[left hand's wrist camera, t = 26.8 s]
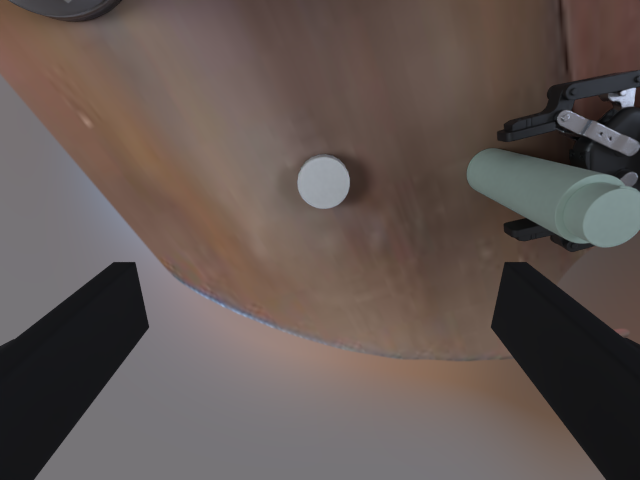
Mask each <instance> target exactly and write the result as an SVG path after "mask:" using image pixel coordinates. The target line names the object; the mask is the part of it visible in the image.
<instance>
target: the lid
mask: <svg viewBox="0 0 640 480" xmlns="http://www.w3.org/2000/svg"><path fill="white" fill-rule="evenodd" d="M348 173H349V172H348V170H347V169H346V167H345V165H344V163H342V162H341V161H340V159H339V158H338V159H337V158H336V157H334V156H333V155H332V156H331V155H327V154H321V155H319V154H318V155H316V156H314V157H311V158H310V159H309V160H306V162H305V163H304V165H303V166H301V170H300V172H299V174H298V181H297V183H298V190H299V193H300V195H301V197H302V198H303V199H304V200H305V201H306V202H307V203H308V204H309V205H311V206H313V207H316V208H320V209H328V208H332V207H334V206H336V205H338V204H339V203H341V202H342V201H343V200H344V199H345V197H346V196H347V194H348V191H349V187H350V177H349V175H348Z"/></svg>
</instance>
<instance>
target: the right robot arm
mask: <svg viewBox="0 0 640 480" xmlns="http://www.w3.org/2000/svg"><path fill="white" fill-rule="evenodd" d="M637 87H640V70H637V71H629V72H620V73H613V74H608V75H603V76H598V77H593V78H588V79H583V80H578V81H573V82H568V83H563V84H558V85H554V86H552V87H550V88H549V90H548V92H547V97H548V99H549V100H548V104H547V106H546V108H545V109H544V110H543V111H542V112H540V113H536V114H533V115H529V116H525V117H521V118H517V119H513V120H510V121H508V122H507V123H505V124H504V130H500V131H498V132H497V138H498V140H499V141H504V142H510V141H515V140H519V139H523V138H527V137H531V136H535V135H539V134H543V133H547V132H551V131H555V130H556V131H558V133H559V134H561V135H563V136H565V137H567V138H570V139H572V140H574V141H576V143H575V144H574V147H573V149H570V150H569V158H570V162H571V165H572V166H574V167H578V168H582V169H586V170H591V171H595V172H599V173H603V174H608V175H611V176H614V177H616V178H618V179H619V180H621V181H622V182H623V183H624V185H625V186H629V187H632V188H635V189H637V190H638V191H639V192H640V108H637V107H634V100H635V92H636V88H637ZM596 95H598V96H599V97H600V99H601V100H602V101H605V102H611V103H612V104H613V108H612V109H610V110H609V111H608V112H606V113H605V114H604V115H603V116H602V117H601V118H600V119H599V120H598V121H597V122H596V121H593V120H589V119H586V118H584V117H582V116H580V115H578V114H576V113H574V112H572V111H571V110H572V107H573V104H574V101H575V100H576V99H581V98H586V97H591V96H596ZM504 232H505V233H507V234H508V235H510V236H511V237H514V238H516V239H517V240H519V241H528V240H531V239H535V238H536V239H537V238H541V237H546V236H550V235H551V237H550V238H551V241H553V242H554V243H556V244H559V245H560V246H562V247H564V248H565V249H566V250H568V251H570V252H574V251H578V250H582V249H585V248H589V247H593V246H595V245H593V244H591V243H574V242H570V241H568V240H566V239H564V238H562V237H561V236H559V235H557V234H555V233H553V232H551V231H550V230H548V229H546V228H544V227H542V226H540V225H539V224H537V223H535V222H533V221H531V220H529V219H527V218H524V219H520V220H516V221H511V222H507V223H504Z"/></svg>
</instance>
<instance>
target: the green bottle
mask: <svg viewBox="0 0 640 480" xmlns="http://www.w3.org/2000/svg"><path fill="white" fill-rule="evenodd" d="M467 180H468V183H469V184H470V186H471V187H472V188H473V189H474V190H476V191H478V192H480V193H481V194H483V195H485V196H487V197H489V198H491V199H492V200H494V201H496V202H498V203H500V204H502V205H504V206H505V207H507V208H509V209H511V210H513V211H515V212H516V213H518V214H520V215H522V216H524V217H526V218H527V219H529V220H531V221H533V222H535V223H537V224H539V225H540V226H542V227H544V228H546V229H548V230H550V231H551V232H553V233H555V234H557V235H559V236H561V237H562V238H564V239H566V240H568V241H570V242H574V243H591V244H593V245H595V246H598V247H613V246H617V245H620V244H622V243H624V242H626V241H628V240H629V239H631V238H632V237H633V236H634V235H635V234H636V233H637V232H638V231H639V230H640V192H639V191H638V190H637V189H635V188H632V187H629V186H625V185H624V183H623V182H622V181H621V180H619V179H618V178H616V177H614V176H611V175H608V174H603V173H599V172H595V171H591V170H586V169H582V168H578V167H574V166H570V165H565V164H561V163H557V162H553V161H548V160H544V159H540V158H536V157H531V156H527V155H523V154H519V153H515V152H510V151H506V150H502V149H498V148H489V149H485V150H483V151H481V152H479V153H478V154H476V155H475V156H474V157H473V159H472V160H471V161H470V163H469V165H468V168H467Z"/></svg>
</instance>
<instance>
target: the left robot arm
mask: <svg viewBox="0 0 640 480" xmlns="http://www.w3.org/2000/svg"><path fill="white" fill-rule="evenodd" d="M9 1H10V2H12V3H14V4H16V5H17V6H19V7H21V8H24V9H26V10H28V11H31V12H34V13H37V14H40V15H43V16H46V17H49V18H53V19H57V20H62V21H85V20H89V19H93V18H96V17H99V16H101V15H103V14H105V13H107V12H109V11H110V10H111V9H113V8H114V7H115V6H117V5H118V4H119V3H120V2H121V1H122V0H9ZM148 328H149V324H148V320H147V315H146V311H145V306H144V301H143V296H142V292H141V287H140V282H139V278H138V273H137V268H136V264H135V262H113V263H112V264H111V265H109V266H108V267H107V268H106V269H104V270H103V271H102V272H100V273H99V274H98V275H97V276H95V277H94V278H93V279H92V280H90V281H89V282H88V283H86V284H85V285H84V286H83V287H81V288H80V289H79V290H77V291H76V292H75V293H74V294H72V295H71V296H70V297H68V298H67V299H66V300H65V301H63V302H62V303H61V304H59V305H58V306H57V307H56V308H54V309H53V310H52V311H50V312H49V313H48V314H47V315H45V316H44V317H43V318H41V319H40V320H39V321H38V322H36V323H35V324H34V325H32V326H31V327H30V328H29V329H27V330H26V331H25V332H23V333H22V334H21V335H20V336H18V337H17V338H16V339H13V340H11V341H9V342H7V343H5V344H3V345H2V346H0V480H34V479H35V477H36V476H37V475H38V473H39V472H40V471H41V470H42V468H43V467H44V466H45V464H46V463H47V462H48V460H49V459H50V458H51V456H52V455H53V454H54V452H55V451H56V450H57V448H58V447H59V446H60V444H61V443H62V442H63V440H64V439H65V438H66V437H67V435H68V434H69V433H70V431H71V430H72V429H73V427H74V426H75V425H76V423H77V422H78V421H79V419H80V418H81V417H82V415H83V414H84V413H85V411H86V410H87V409H88V407H89V406H90V405H91V403H92V402H93V401H94V399H95V398H96V397H97V396H98V394H99V393H100V392H101V390H102V389H103V388H104V386H105V385H106V384H107V382H108V381H109V380H110V378H111V377H112V376H113V374H114V373H115V372H116V370H117V369H118V368H119V366H120V365H121V364H122V362H123V361H124V360H125V359H126V357H127V356H128V355H129V353H130V352H131V351H132V349H133V348H134V347H135V345H136V344H137V343H138V341H139V340H140V339H141V337H142V336H143V335H144V333H145V332H146V331H147V329H148ZM491 328H492V329H493V331H494V332H495V333H496V335H497V336H498V337H499V339H500V340H501V341H502V343H503V344H504V345H505V347H506V348H507V349H508V351H509V352H510V353H511V355H512V356H513V357H514V359H515V360H516V361H517V362H518V364H519V365H520V366H521V368H522V369H523V370H524V372H525V373H526V374H527V376H528V377H529V378H530V380H531V381H532V382H533V384H534V385H535V386H536V388H537V389H538V390H539V392H540V393H541V394H542V395H543V397H544V398H545V400H546V401H547V402H548V403H549V405H550V406H551V407H552V409H553V410H554V411H555V413H556V414H557V415H558V417H559V418H560V419H561V421H562V422H563V423H564V425H565V426H566V427H567V429H568V430H569V431H570V433H571V434H572V435H573V437H574V438H575V439H576V440H577V442H578V443H579V444H580V446H581V447H582V448H583V450H584V451H585V452H586V454H587V455H588V456H589V458H590V459H591V460H592V462H593V463H594V464H595V466H596V467H597V468H598V469H599V471H600V472H601V474H602V475H603V476H604V477H605V479H606V480H640V345H639V344H638V343H636V342H634V341H632V340H630V339H628V338H623V337H622V336H620V335H619V334H618V333H617V332H615V331H614V330H613V329H611V328H610V327H609V326H608V325H606V324H605V323H604V322H602V321H601V320H600V319H598V318H597V317H596V316H595V315H593V314H592V313H591V312H590V311H588V310H587V309H586V308H584V307H583V306H582V305H581V304H579V303H578V302H577V301H575V300H574V299H573V298H572V297H570V296H569V295H568V294H566V293H565V292H564V291H563V290H561V289H560V288H559V287H557V286H556V285H555V284H554V283H552V282H551V281H550V280H549V279H547V278H546V277H545V276H543V275H542V274H541V273H540V272H538V271H537V270H536V269H534V268H533V267H532V266H531V265H529V264H528V263H527V262H505V263H504V268H503V273H502V278H501V282H500V287H499V292H498V296H497V301H496V306H495V310H494V315H493V320H492V324H491Z"/></svg>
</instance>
